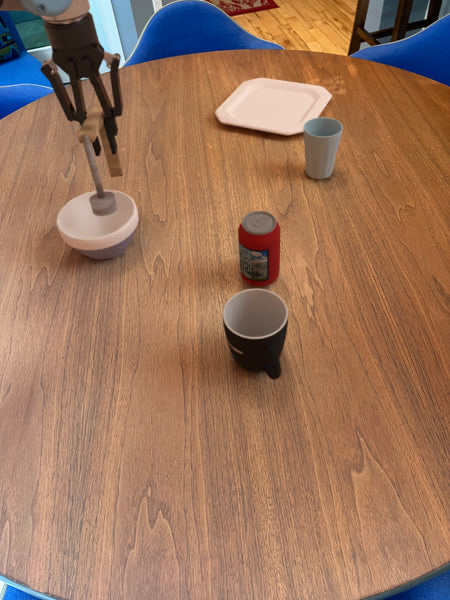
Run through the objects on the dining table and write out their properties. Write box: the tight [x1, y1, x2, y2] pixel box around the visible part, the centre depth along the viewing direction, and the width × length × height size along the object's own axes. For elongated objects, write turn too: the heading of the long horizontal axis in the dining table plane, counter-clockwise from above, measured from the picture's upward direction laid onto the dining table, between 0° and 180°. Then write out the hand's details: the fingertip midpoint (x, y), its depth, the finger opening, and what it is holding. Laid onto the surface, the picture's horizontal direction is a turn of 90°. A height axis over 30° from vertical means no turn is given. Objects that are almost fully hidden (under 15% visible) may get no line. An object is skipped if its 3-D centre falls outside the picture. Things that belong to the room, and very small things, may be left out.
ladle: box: [76, 104, 124, 216], centre depth 87 cm, size 18×4×14 cm, turn 3°
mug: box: [222, 288, 289, 380], centre depth 68 cm, size 12×9×10 cm
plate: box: [214, 77, 333, 136], centre depth 120 cm, size 25×25×2 cm
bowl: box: [55, 189, 139, 261], centre depth 89 cm, size 14×14×8 cm
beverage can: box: [237, 210, 281, 287], centre depth 79 cm, size 7×7×12 cm
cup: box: [303, 116, 344, 180], centre depth 98 cm, size 8×8×10 cm
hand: (106, 151), depth 91 cm, fingers closed on ladle, 2 cm apart
